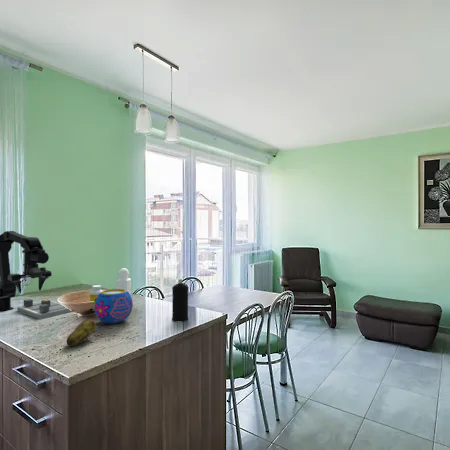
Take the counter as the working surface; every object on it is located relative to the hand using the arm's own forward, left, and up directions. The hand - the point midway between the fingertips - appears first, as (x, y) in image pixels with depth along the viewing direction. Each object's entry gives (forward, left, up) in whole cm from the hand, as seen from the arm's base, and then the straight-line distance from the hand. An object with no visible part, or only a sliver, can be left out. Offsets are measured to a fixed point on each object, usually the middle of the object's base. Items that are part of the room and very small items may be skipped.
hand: (30, 291), depth 161 cm
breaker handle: (-1, +8, -10) cm, 13 cm away
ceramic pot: (+45, +18, -12) cm, 50 cm away
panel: (-1, +8, -12) cm, 15 cm away
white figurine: (+26, +38, -12) cm, 48 cm away
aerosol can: (+68, +40, -12) cm, 80 cm away
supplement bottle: (+18, +26, -12) cm, 34 cm away
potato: (+56, -5, -12) cm, 57 cm away
